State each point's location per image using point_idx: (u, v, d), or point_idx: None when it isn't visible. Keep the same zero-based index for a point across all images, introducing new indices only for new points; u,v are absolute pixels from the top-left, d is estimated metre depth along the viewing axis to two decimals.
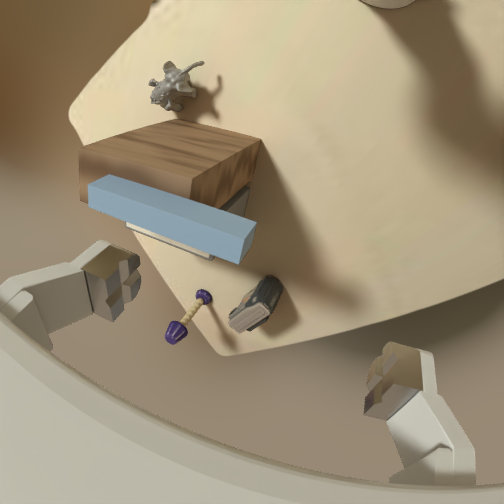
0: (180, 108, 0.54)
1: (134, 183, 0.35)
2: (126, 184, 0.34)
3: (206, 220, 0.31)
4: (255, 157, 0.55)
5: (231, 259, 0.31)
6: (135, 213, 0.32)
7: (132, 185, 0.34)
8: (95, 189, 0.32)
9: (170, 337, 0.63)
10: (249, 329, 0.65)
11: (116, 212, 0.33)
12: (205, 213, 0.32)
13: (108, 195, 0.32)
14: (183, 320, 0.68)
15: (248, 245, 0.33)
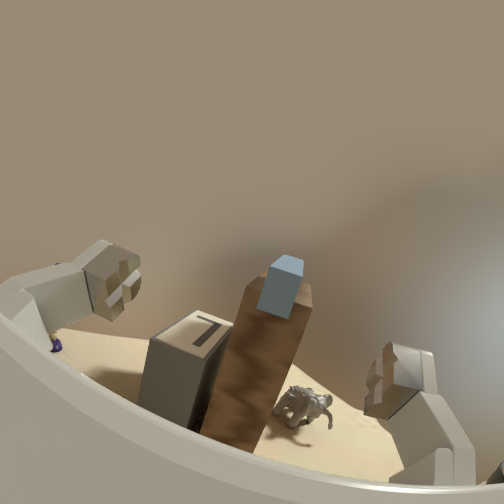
0: (276, 412, 0.53)
1: None
2: None
3: None
4: None
5: (274, 266, 0.28)
6: (292, 261, 0.39)
7: None
8: (301, 260, 0.45)
9: None
10: None
11: (287, 257, 0.42)
12: None
13: (300, 261, 0.43)
14: None
15: (270, 296, 0.27)
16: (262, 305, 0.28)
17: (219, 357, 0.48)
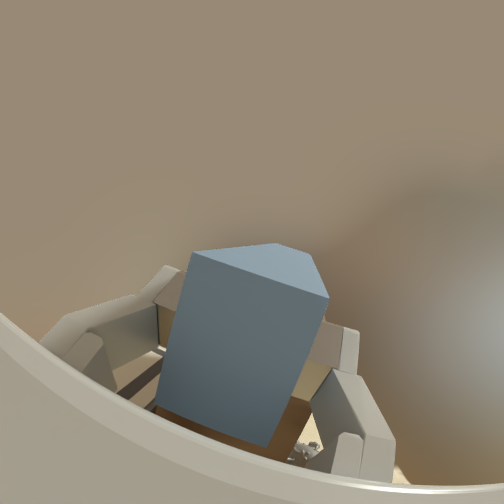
0: None
1: None
2: None
3: None
4: None
5: (215, 254, 0.07)
6: (288, 252, 0.19)
7: None
8: (307, 254, 0.24)
9: None
10: None
11: (280, 247, 0.21)
12: None
13: (305, 254, 0.22)
14: None
15: (198, 370, 0.07)
16: (173, 397, 0.07)
17: None
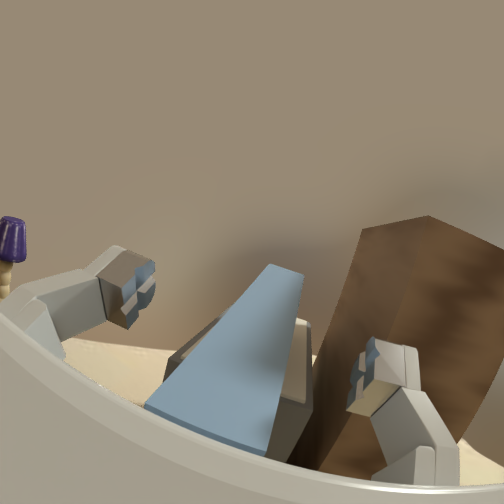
0: None
1: None
2: None
3: None
4: None
5: (169, 391, 0.07)
6: (275, 292, 0.18)
7: None
8: (300, 277, 0.24)
9: (17, 221, 0.25)
10: None
11: (270, 278, 0.21)
12: None
13: (296, 282, 0.22)
14: (8, 276, 0.25)
15: None
16: None
17: None
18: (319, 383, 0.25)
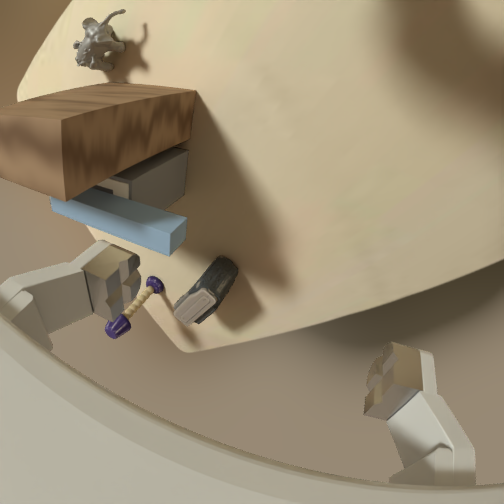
0: (110, 66, 0.42)
1: None
2: None
3: (141, 218, 0.34)
4: (190, 112, 0.43)
5: (163, 252, 0.34)
6: (86, 215, 0.35)
7: (86, 190, 0.37)
8: None
9: (109, 330, 0.52)
10: (198, 321, 0.54)
11: (73, 214, 0.36)
12: (142, 212, 0.35)
13: None
14: (127, 311, 0.57)
15: (180, 239, 0.35)
16: (184, 237, 0.37)
17: None
18: None
